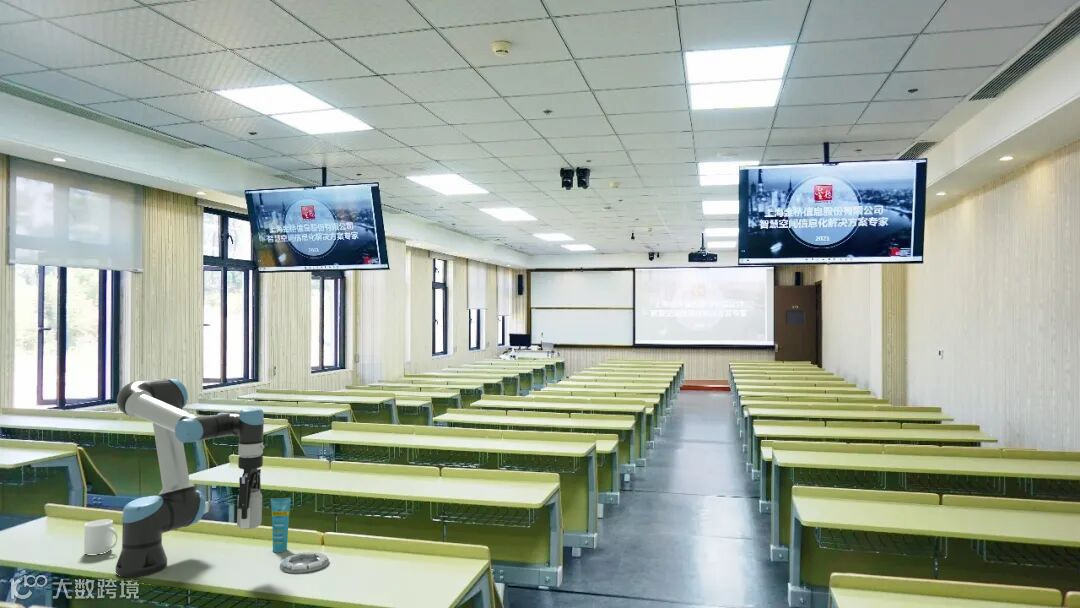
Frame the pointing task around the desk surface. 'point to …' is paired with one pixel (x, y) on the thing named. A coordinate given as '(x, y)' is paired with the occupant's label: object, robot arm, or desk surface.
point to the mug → (99, 536)
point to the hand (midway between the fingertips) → (249, 524)
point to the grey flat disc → (304, 563)
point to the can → (253, 509)
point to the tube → (280, 523)
